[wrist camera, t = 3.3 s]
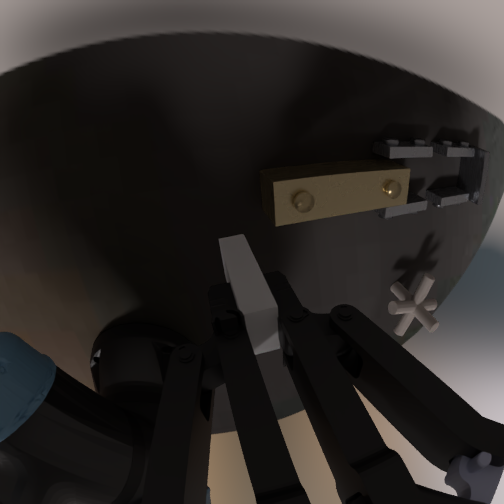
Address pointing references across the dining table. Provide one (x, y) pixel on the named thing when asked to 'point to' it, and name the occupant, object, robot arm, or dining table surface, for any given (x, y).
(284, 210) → the link
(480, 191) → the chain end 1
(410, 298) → the pipe connector
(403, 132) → the dining table surface
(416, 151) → the chain end
